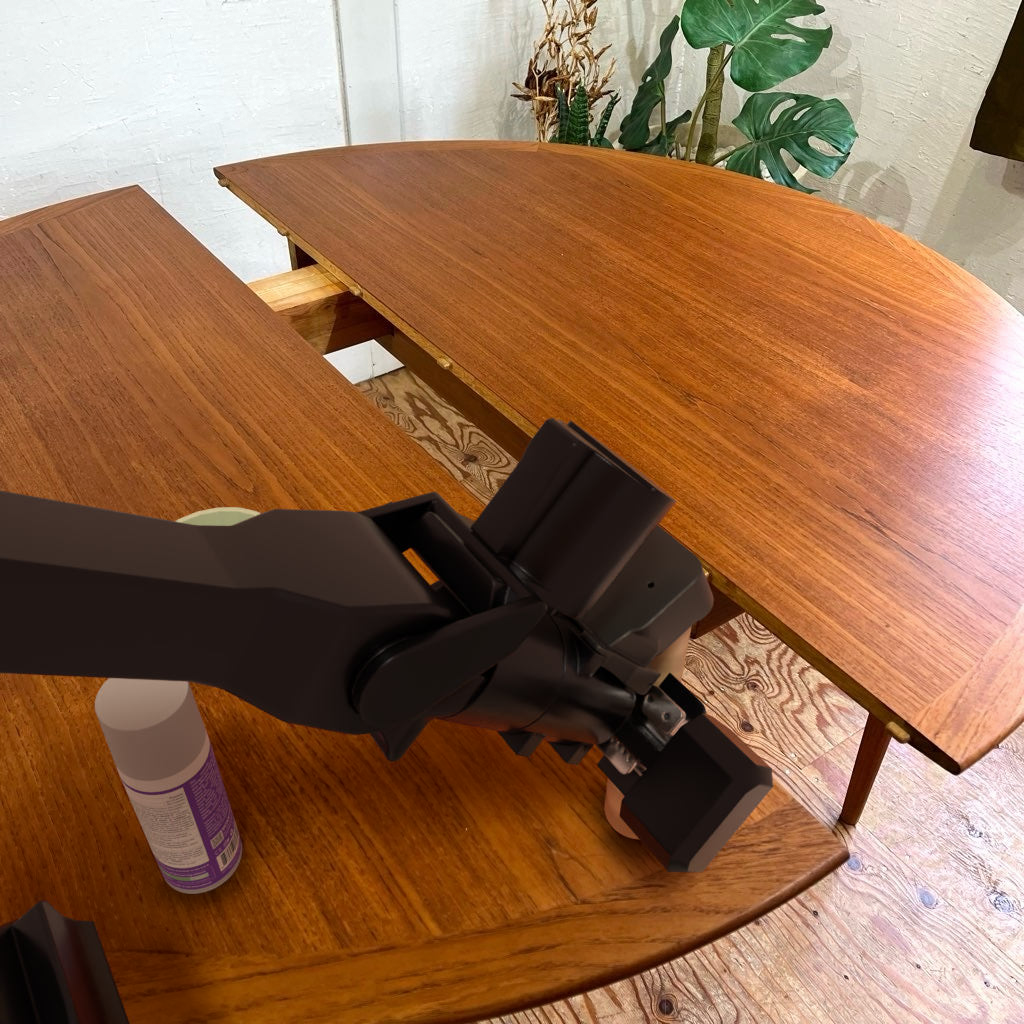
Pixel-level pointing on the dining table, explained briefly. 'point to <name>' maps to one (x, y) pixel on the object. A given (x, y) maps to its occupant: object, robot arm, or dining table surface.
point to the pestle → (665, 664)
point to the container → (171, 780)
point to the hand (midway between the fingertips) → (670, 711)
